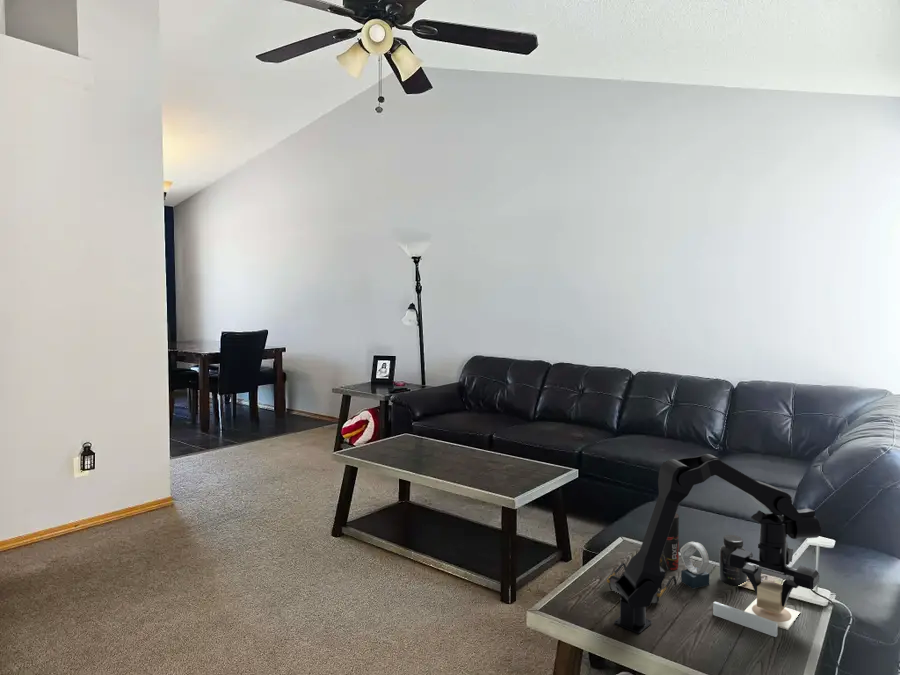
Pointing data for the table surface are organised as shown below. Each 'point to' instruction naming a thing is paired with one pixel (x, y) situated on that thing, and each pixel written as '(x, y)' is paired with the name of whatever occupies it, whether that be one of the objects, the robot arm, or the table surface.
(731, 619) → the low wall
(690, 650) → the table surface
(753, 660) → the table surface
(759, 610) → the pad
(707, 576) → the watch
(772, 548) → the robot arm
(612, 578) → the sunglasses
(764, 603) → the maple block
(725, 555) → the supplement bottle
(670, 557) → the deodorant
